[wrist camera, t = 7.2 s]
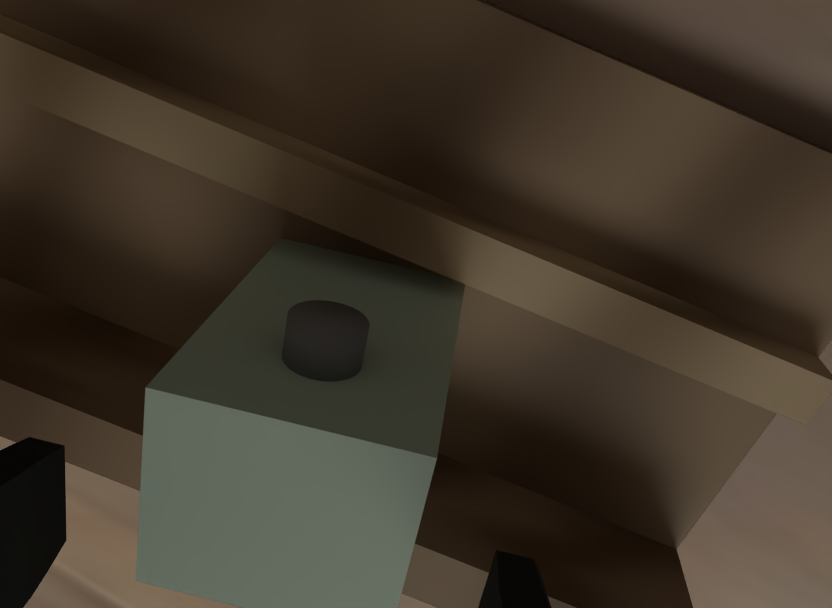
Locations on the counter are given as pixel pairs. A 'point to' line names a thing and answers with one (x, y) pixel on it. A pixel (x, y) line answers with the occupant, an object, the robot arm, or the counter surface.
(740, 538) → the counter surface
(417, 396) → the cabinet block
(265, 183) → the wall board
